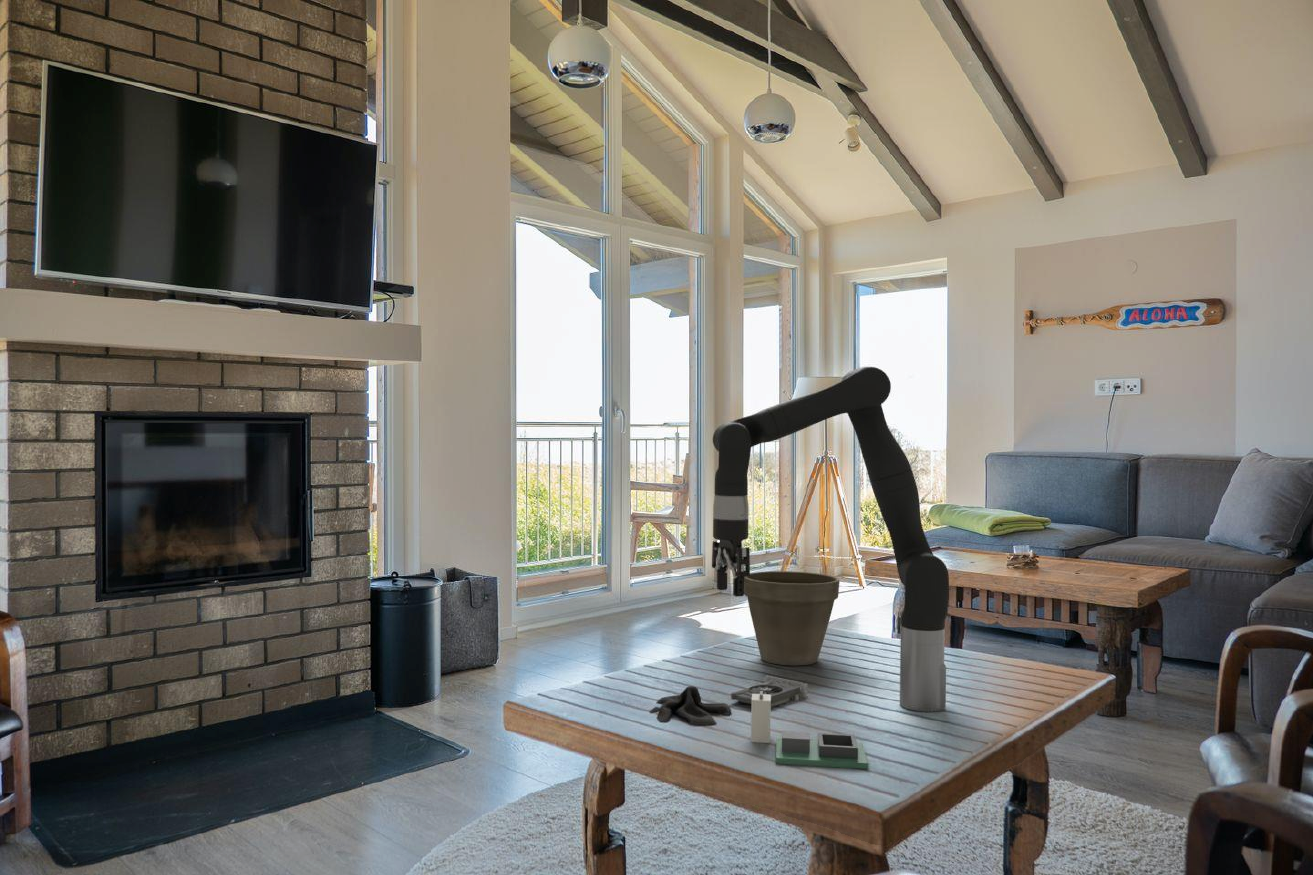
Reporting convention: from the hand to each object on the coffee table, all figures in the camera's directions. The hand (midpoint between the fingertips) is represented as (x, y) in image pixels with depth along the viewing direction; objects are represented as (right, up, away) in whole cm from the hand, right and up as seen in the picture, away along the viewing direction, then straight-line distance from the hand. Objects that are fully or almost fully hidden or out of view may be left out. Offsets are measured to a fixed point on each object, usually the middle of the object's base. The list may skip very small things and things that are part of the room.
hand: (730, 592), depth 202 cm
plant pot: (+19, -25, +45) cm, 55 cm away
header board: (+14, -25, -29) cm, 41 cm away
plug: (+4, -25, -19) cm, 32 cm away
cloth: (-10, -25, -3) cm, 27 cm away
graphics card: (+8, -26, +8) cm, 28 cm away
